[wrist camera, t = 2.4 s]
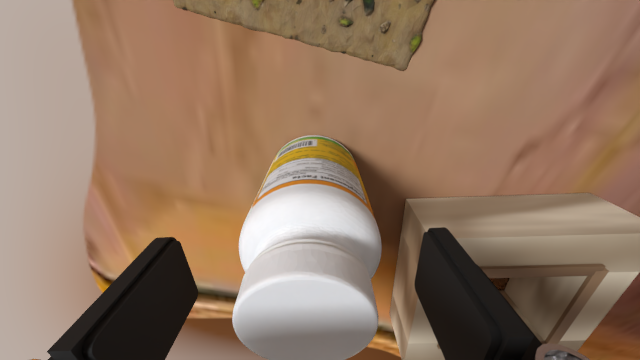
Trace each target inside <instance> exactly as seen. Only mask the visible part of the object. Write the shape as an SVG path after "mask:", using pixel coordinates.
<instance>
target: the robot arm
mask: <svg viewBox="0 0 640 360" xmlns="http://www.w3.org/2000/svg"><path fill="white" fill-rule="evenodd" d="M414 285H415V291H416V293H417V296H418V298H419V300H420V303H421V305H422V307H423V310H424V312H425V314H426V316H427V319H428V321H429V323H430V326H431V328H432V330H433V333H434V335H435V337H436V339H437V342H438V344H439V346H440V349H441V351H442V353H443V356H444V358H445V360H590V359H589V358H587V357H586V356H584V355H582V354H580V353H579V352H577V351H575V350H573V349H570V348H568V347H565V346H563V345H558V344H552V343H549V344H542V343H541V342H540V341H539V340H538V338H537V337H536V336H535V335H534V333H533V332H532V331H531V330H530V328H529V327H528V326H527V325H526V323H525V322H524V321H523V320H522V319H521V317H520V316H519V315H518V314H517V312H516V311H515V310H514V309H513V307H512V306H511V305H510V304H509V302H508V301H507V300H506V299H505V298H504V296H503V295H502V294H501V293H500V291H499V290H498V289H497V288H496V286H495V285H494V284H493V283H492V281H491V280H490V279H489V278H488V277H487V275H486V274H485V273H484V272H483V270H482V269H481V268H480V267H479V266H478V265H477V264H475V262H474V261H473V260H472V259H471V257H470V256H469V255H468V254H467V252H466V251H465V250H464V249H463V247H462V246H461V245H460V244H459V242H458V241H457V240H456V239H455V237H454V236H453V235H452V234H451V232H450V231H449V230H448V229H447V228H445V227H441V228H429V229H428V232H424V234H423V238H422V244H421V249H420V255H419V260H418V266H417V271H416V277H415V283H414ZM197 296H198V289H197V286H196V284H195V281H194V278H193V276H192V273H191V270H190V268H189V265H188V262H187V259H186V257H185V254H184V251H183V249H182V246H181V243H180V242H179V241H177V240H176V239H175V238H173V237H165V238H156V239H154V240H153V241H152V242H151V243H150V244H149V245H148V246H147V247H146V249H145V250H144V251H143V252H142V253H141V254H140V255H139V256H138V257H137V258H136V259H135V260H134V261H133V262H132V263H131V264H130V265H129V266H128V267H127V268H126V269H125V270H124V272H123V273H122V274H121V275H120V276H119V277H118V278H117V279H116V280H115V281H114V282H113V283H112V284H111V285H110V286H109V287H108V288H107V289H106V290H105V291H104V292H103V294H102V295H101V296H100V297H99V298H98V299H97V300H96V301H95V302H94V303H93V304H92V305H91V306H90V307H89V308H88V309H87V310H86V311H85V312H84V314H82V316H81V317H80V318H79V319H78V320H77V321H76V322H75V323H74V324H73V325H72V326H71V327H70V328H69V329H68V330H67V331H66V332H65V333H64V334H63V336H62V337H61V338H60V339H59V340H58V341H57V342H56V343H55V344H54V345H53V346H52V347H51V348H50V349H49V350H48V351H47V352H48V353H49V354H50V355H51V357H50V358H49V359H48V360H165V358H166V356H167V355H168V353H169V351H170V348H171V347H172V345H173V343H174V341H175V339H176V337H177V335H178V334H179V332H180V330H181V328H182V326H183V324H184V322H185V320H186V318H187V316H188V315H189V313H190V311H191V309H192V307H193V305H194V303H195V301H196V299H197ZM32 360H39V359H32Z"/></svg>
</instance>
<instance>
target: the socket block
mask: <svg viewBox="0 0 640 360" xmlns="http://www.w3.org/2000/svg"><path fill="white" fill-rule="evenodd" d="M441 227H445V228H447V229H448V230H449V231H450V232H451V234H452V235H453V236H454V237H455V239H456V240H457V241H458V242H459V244H460V245H461V246H462V247H463V249H464V250H465V251H466V252H467V254H468V255H469V256H470V257H471V259H472V260H473V261H474V262H475V264H477V265H478V266H479V267H480V268H481V269H482V270H483V272H484V273H485V274H486V275H487V277H488V278H509V281H508V283H507V285H506V287H505V290H500V293H501V294H502V295H503V296H504V298H505V299H506V300H507V301H508V302H509V304H510V305H511V306H512V307H513V309H514V310H515V311H516V312H517V314H518V315H519V316H520V317H521V319H522V320H523V321H524V322H525V323H526V325H527V326H528V327H529V328H530V330H531V331H532V332H533V333H534V335H535V336H536V337H537V338H538V340H539V341H540V342H541V343H542V344H549V343H552V344H558V345H563V346H565V347H568V348H570V349H573V350H575V351H578V350H579V348H580V347H581V346H582V344H583V343H584V342H585V341H586V339H587V338H588V337H589V336H590V334H591V333H592V332H593V331H594V329H595V328H596V327H597V325H598V324H599V323H600V322H601V320H602V319H603V318H604V317H605V315H606V314H607V313H608V312H609V310H610V309H611V308H612V306H613V305H614V304H615V303H616V301H617V300H618V299H619V298H620V296H621V295H622V294H623V292H624V291H625V290H626V289H627V287H628V286H629V285H630V284H631V282H632V281H633V280H634V279H635V277H636V276H637V275H638V273H639V272H640V217H638V216H636V215H634V214H632V213H630V212H628V211H626V210H624V209H622V208H620V207H618V206H616V205H614V204H612V203H610V202H608V201H606V200H604V199H601V198H599V197H597V196H595V195H593V194H591V193H575V194H543V195H512V196H480V197H448V198H416V199H406V202H405V209H404V216H403V223H402V230H401V237H400V244H399V251H398V258H397V265H396V272H395V279H394V286H393V293H392V300H391V307H390V318H391V321H392V325H393V329H394V333H395V336H396V340H397V344H398V347H399V351H400V355H401V358H402V360H445V358H444V356H443V353H442V351H441V349H440V346H439V344H438V342H437V339H436V337H435V335H434V333H433V330H432V328H431V326H430V323H429V321H428V319H427V316H426V314H425V312H424V310H423V307H422V305H421V303H420V300H419V298H418V296H417V293H416V291H415V285H414V283H415V277H416V271H417V266H418V260H419V255H420V249H421V244H422V238H423V234H424V232H428V229H429V228H441Z"/></svg>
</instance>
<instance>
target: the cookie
mask: <svg viewBox="0 0 640 360" xmlns="http://www.w3.org/2000/svg"><path fill="white" fill-rule="evenodd" d="M173 1H174V5H175V6H176V7H177V8H182V9H186V10H189V11H191V12H194V13H197V14H201V15H204V16H207V17H210V18H214V19H218V20H221V21H225V22H229V23H233V24H237V25H241V26H243V27H245V28H248V29H251V30H255V31H263V32H268V33H271V34H275V35H279V36H282V37H284V38H287V39H295V40H298V41H301V42H303V43H306V44H309V45H313V46H317V47H322V48H325V49H327V50H329V51H332V52H341V53H346V54H348V55H350V56H354V57H358V58H361V59H363V60H368V61H372V62H375V63H378V64H383V65H386V66H391V67H394V68H396V69H397V70H401V71H404V70H406V69H407V66H408V63H409V61H410V58H411V56H412V54H413V53H414V51H415V50H416V48H417V47H418V45H419V43H420V41H421V38H422V32H421V30H422V28H423V26H424V24H425V22H426V19H427V17H428V14H429V10H430V7H431V5H432V3H433V1H434V0H173Z"/></svg>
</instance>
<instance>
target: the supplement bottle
mask: <svg viewBox="0 0 640 360" xmlns="http://www.w3.org/2000/svg"><path fill="white" fill-rule="evenodd" d="M381 251H382V244H381V237H380V233H379V229H378V226H377V223H376V219H375V217H374V214H373V211H372V208H371V205H370V202H369V199H368V196H367V193H366V190H365V188H364V185H363V182H362V179H361V176H360V173H359V170H358V168H357V165H356V163H355V160H354V158H353V156H352V155H351V153H350V152H349V151H348V150H347V149H346V148H345V147H344V146H343V145H342V144H340V143H339V142H337V141H336V140H333V139H331V138H329V137H325V136H319V135H309V136H303V137H299V138H296V139H294V140H292V141H290V142H289V143H287V144H286V145H285V146H284V147H283V148H282V149H281V150H280V151H279V152H278V153H277V155H276V157H275V159H274V160H273V162H272V164H271V166H270V169H269V171H268V173H267V175H266V177H265V179H264V181H263V184H262V186H261V188H260V190H259V192H258V194H257V196H256V199H255V201H254V203H253V205H252V207H251V209H250V211H249V213H248V215H247V217H246V220H245V222H244V224H243V227H242V230H241V234H240V239H239V254H240V260H241V263H242V266H243V269H244V271H245V275H244V277H243V280H242V284H241V287H240V291H239V294H238V297H237V300H236V303H235V306H234V310H233V318H232V321H233V326H234V330H235V332H236V334H237V336H238V338H239V339H240V340H241V342H242V343H243V344H244V345H245V346H247V348H249V349H250V350H251V351H253V352H254V353H256V354H258V355H260V356H261V357H264V358H266V359H269V360H345V359H347V358H349V357H351V356H353V355H355V354H357V353H358V352H360V351H361V350H363V349H364V348H365V347H366V346H367V345H368V344H369V343H370V341H371V340H372V339H373V337H374V336H375V333H376V331H377V327H378V312H377V306H376V302H375V297H374V293H373V288H372V283H371V278H372V277H373V276H374V274H375V272H376V270H377V268H378V265H379V262H380V258H381Z"/></svg>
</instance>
